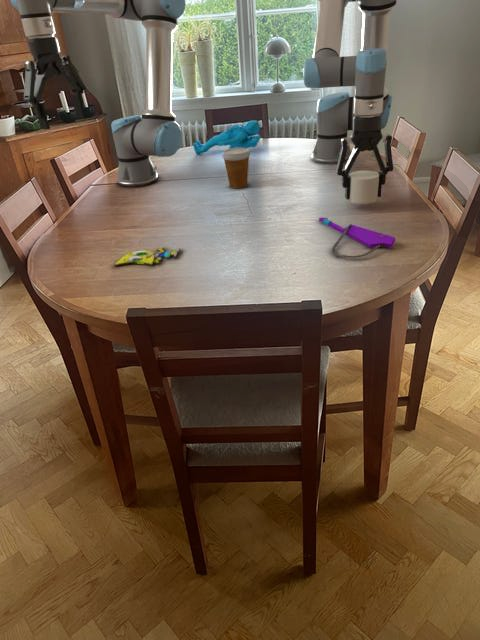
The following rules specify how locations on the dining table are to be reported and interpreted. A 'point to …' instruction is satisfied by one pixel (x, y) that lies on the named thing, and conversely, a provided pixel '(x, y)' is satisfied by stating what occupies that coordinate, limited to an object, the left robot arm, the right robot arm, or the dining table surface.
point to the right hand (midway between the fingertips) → (362, 196)
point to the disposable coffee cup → (237, 166)
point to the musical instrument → (361, 237)
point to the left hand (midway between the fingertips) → (64, 123)
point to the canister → (363, 187)
